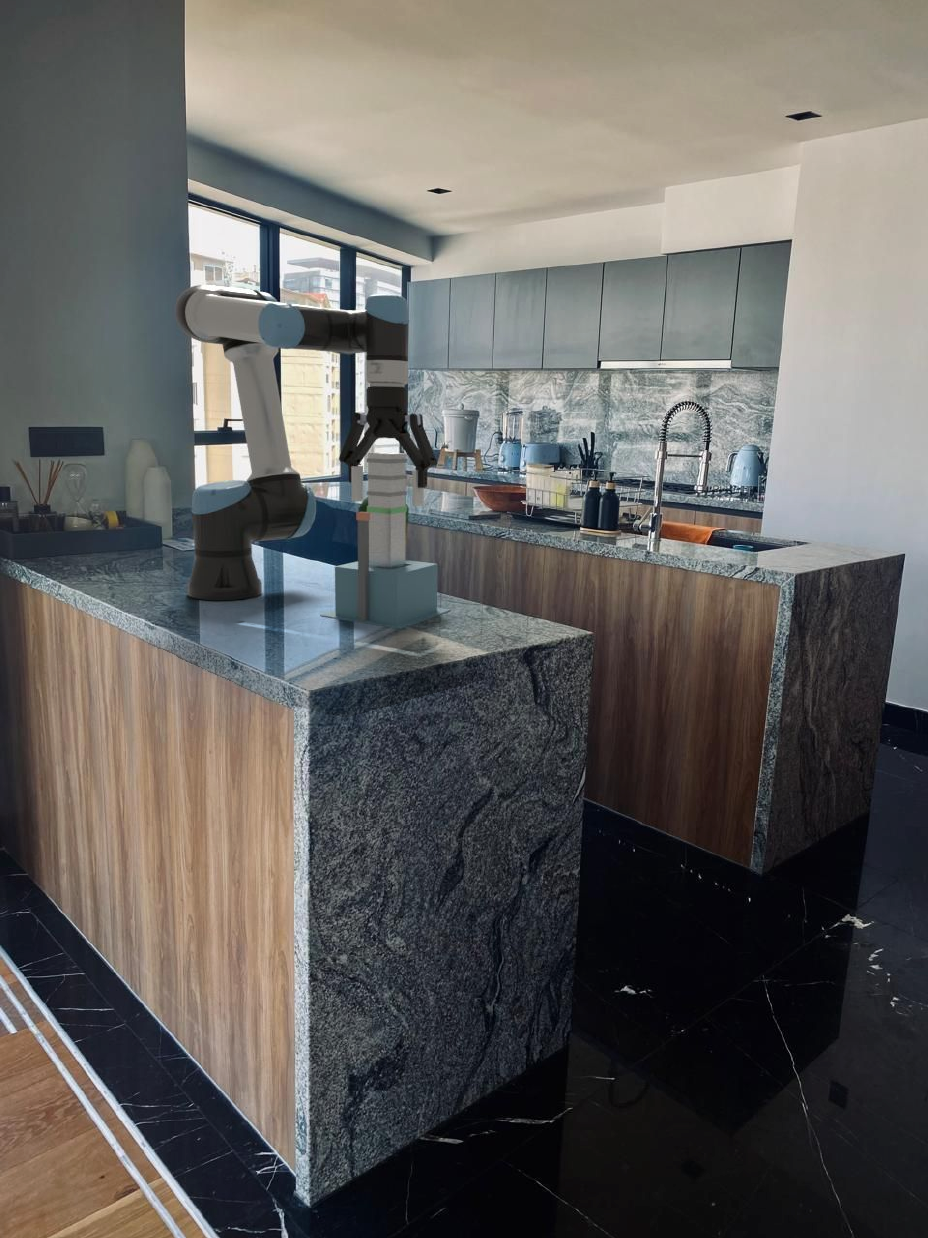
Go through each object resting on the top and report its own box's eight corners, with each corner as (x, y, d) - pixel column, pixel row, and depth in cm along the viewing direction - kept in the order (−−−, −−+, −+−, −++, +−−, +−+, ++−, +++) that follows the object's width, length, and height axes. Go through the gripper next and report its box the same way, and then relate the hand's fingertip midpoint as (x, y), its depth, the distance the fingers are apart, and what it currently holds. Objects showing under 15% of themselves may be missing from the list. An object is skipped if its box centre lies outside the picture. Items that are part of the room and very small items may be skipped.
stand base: (320, 619, 165) (318, 509, 161) (375, 602, 181) (375, 501, 176) (400, 632, 157) (400, 516, 152) (450, 613, 172) (452, 508, 167)
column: (367, 571, 166) (366, 453, 161) (383, 567, 170) (383, 452, 165) (390, 574, 163) (391, 454, 158) (406, 570, 168) (407, 453, 163)
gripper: (319, 384, 162) (321, 500, 166) (435, 385, 150) (433, 509, 155) (344, 386, 168) (345, 497, 173) (457, 386, 156) (454, 506, 161)
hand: (387, 503), depth 164 cm, fingers open, 13 cm apart
